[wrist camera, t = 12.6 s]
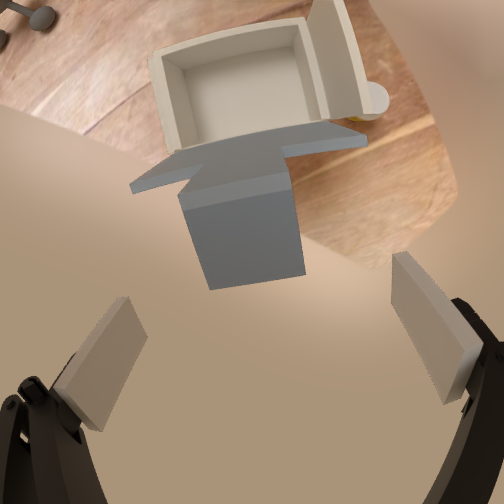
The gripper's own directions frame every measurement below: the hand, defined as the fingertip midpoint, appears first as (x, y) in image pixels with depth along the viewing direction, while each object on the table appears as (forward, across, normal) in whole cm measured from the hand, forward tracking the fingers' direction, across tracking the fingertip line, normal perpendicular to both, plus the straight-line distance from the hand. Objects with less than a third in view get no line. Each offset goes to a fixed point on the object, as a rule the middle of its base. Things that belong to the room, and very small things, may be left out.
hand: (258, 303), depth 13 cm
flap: (+11, 0, +6) cm, 13 cm away
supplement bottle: (+32, +15, +10) cm, 36 cm away
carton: (+31, 0, +14) cm, 34 cm away
